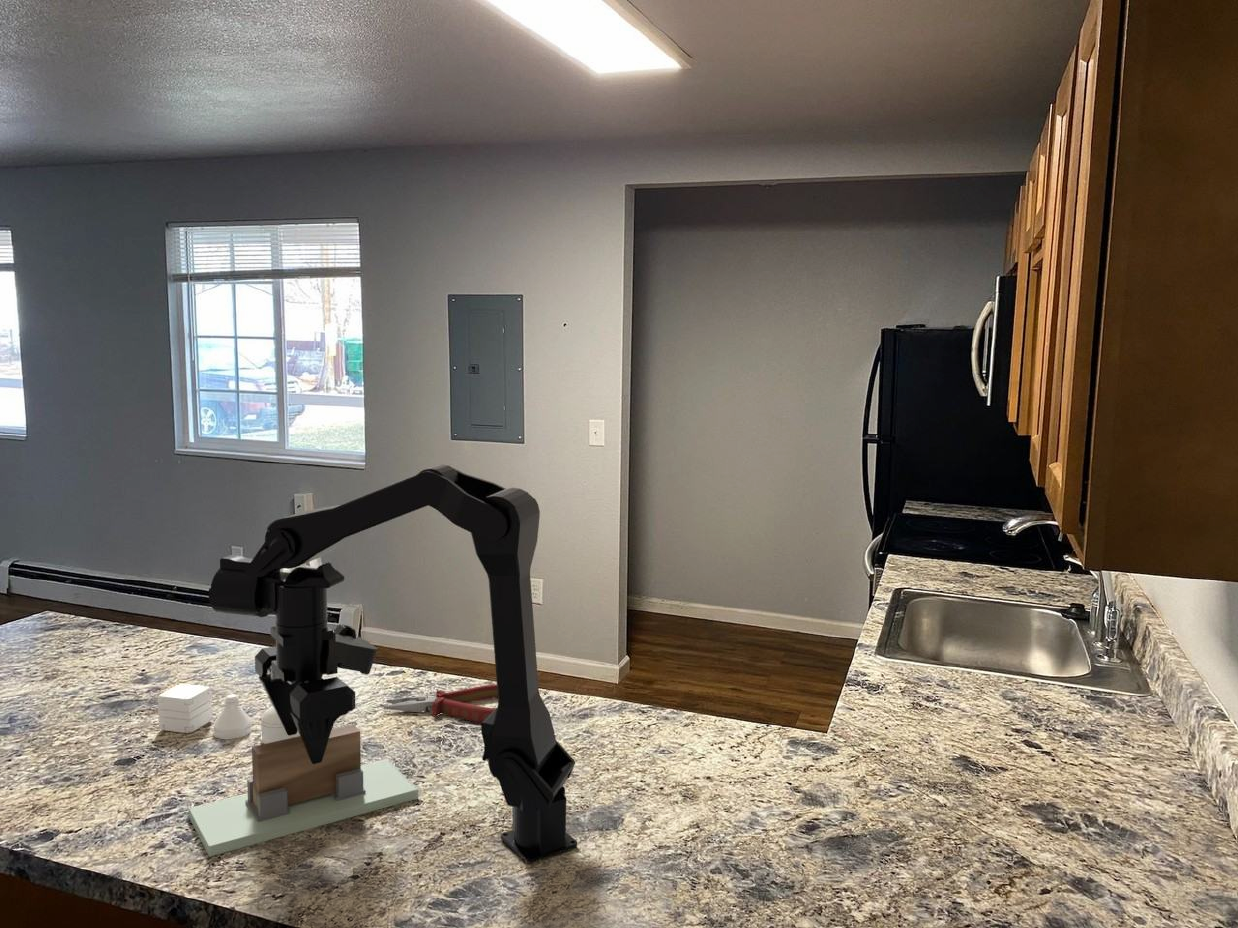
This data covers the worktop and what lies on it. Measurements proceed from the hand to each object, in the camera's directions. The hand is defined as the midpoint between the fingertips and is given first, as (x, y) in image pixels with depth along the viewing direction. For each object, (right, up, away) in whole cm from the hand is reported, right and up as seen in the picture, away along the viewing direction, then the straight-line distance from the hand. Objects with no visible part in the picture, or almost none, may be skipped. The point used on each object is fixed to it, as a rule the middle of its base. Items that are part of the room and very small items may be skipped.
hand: (304, 748), depth 112 cm
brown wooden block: (0, -6, +1) cm, 6 cm away
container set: (-17, -5, +22) cm, 28 cm away
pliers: (+13, -4, +33) cm, 36 cm away
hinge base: (0, -7, +1) cm, 7 cm away
